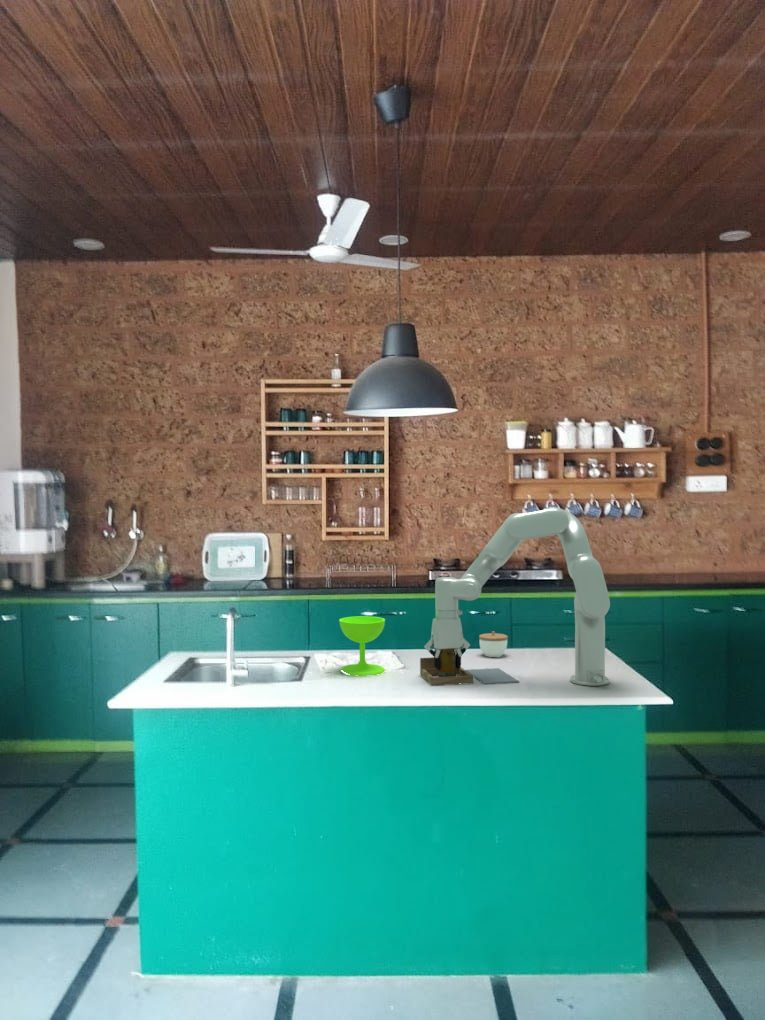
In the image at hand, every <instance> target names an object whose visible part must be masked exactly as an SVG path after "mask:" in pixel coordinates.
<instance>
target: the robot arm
mask: <svg viewBox="0 0 765 1020" xmlns="http://www.w3.org/2000/svg"><path fill="white" fill-rule="evenodd" d="M555 535H557V536H558V539H559V541H560V542H561V546H562V549H563V554H564V557H565V562H566V566H567V571H568V574H569V576H570V578H571V579H572V580H573V586H574V588H575V594H574V597H573V598H574V599H573V605H574V606H573V607H574V625H575V626H574V631H575V634H574V674H573V675H571V676H570V678H569V681H570V682H572V683H574V684H576V685H581V686H589V687H590V686H592V687H595V686H606V685H608V684H610V683H611V682H610V681H611V680H610V678H609V677H607V676H606V670H605V669H606V619H605V616H606V614H608V612H609V611H610V610H609V609H610V607H611V602H610V596H609V592H608V591H609V590H608V587H607V584H606V580H605V576H604V572H603V569H602V566H601V564H600V562H599V561H598V560H597V559H596V558H595V557H594V555H593V552H592V549H591V545H590V543H589V538H588V536H587V533H586V530H585V527H584V526H583V524H582V522H581V521H580V520H579V518H578V517H576V516H575V514H573V513H571V512H570V511H568V510H565V509H564V508H561V507H560V508H559V507H556V506H548V507H546V508H544V509H542V510H537V511H531V512H529V511H528V512H522V513H521V512H515V513H512V514H510V515H509V516H508V517H507V518H506V519H505V520H504V522H503V523H502V524H501V525H500V527H499V528H498V529H497V531H496V532H495V533H494V535H493V536H492V537H491V539H489V541H488V542H487V543H486V545H485V546H484V548H483V549H482V550H481V551H480V553H479V554H478V556H477V557H476V558H475V559H474V561H473V562H472V563H471V565H469V567H468V569H467V570H466V571H465V572H464V574H462V576H461V578H456V577H452V576H442V577H437V578H436V579H435V580H434V581H435V582H434V583H435V584H434V589H435V590H434V593H435V596H434V599H435V618H433V619H432V624H431V632H430V633H431V634H430V635H431V636H430V639H429V640H428V642H427V643H426V644H425V645H424V649H426V651H427V652H428V653H429V654H430V655H431V656H433V657H434V667H436V669H437V670H440V658H439V654H440V651H441V650H442V649H455V652H456V668H458V669H460V666H462V656H463V655H464V653H466V650H468V648H470V646H471V644H470V643H469V641H467V640H466V639H465V638H464V634H463V628H462V627H463V625H462V621H461V618H460V616H461V615H463V610H460V609H459V600H463V601H474V600H476V599H478V598H479V597H480V596H481V594H482V587H483V586H484V585H485V584H486V582H487V581H488V580H489V578H490V577H492V575H493V573H494V572H496V571H497V570H498V569H500V568H501V567H503V566H504V565H505V564H506V563H507V562H508V560H509V559H510V558H511V556H513V554H514V553H515V551H516V550H517V549H518V547H519V546H520V545H521V543H523V541H524V540H533V539H537V538H544V537H550V536H555ZM431 647H432V648H434V650H433V649H432V648H431Z"/></svg>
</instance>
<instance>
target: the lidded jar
mask: <svg viewBox="0 0 765 1020" xmlns="http://www.w3.org/2000/svg"><path fill="white" fill-rule="evenodd" d="M508 638H509V637H508V634H507V635H506V634H504V633H498V632H497V633H496V632H495V631H493V630H492V631H491V632H490V633H482V634H479V636H478V639H479V642H478V643H479V648H480V651H481V652H482V653H483V655H484V656H485V657H486V656H489V657H488V658H491V657H497V658H501V657H502V656H503V655H504V654H505V652H506V650H507V648H508ZM500 656H501V657H500Z"/></svg>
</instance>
